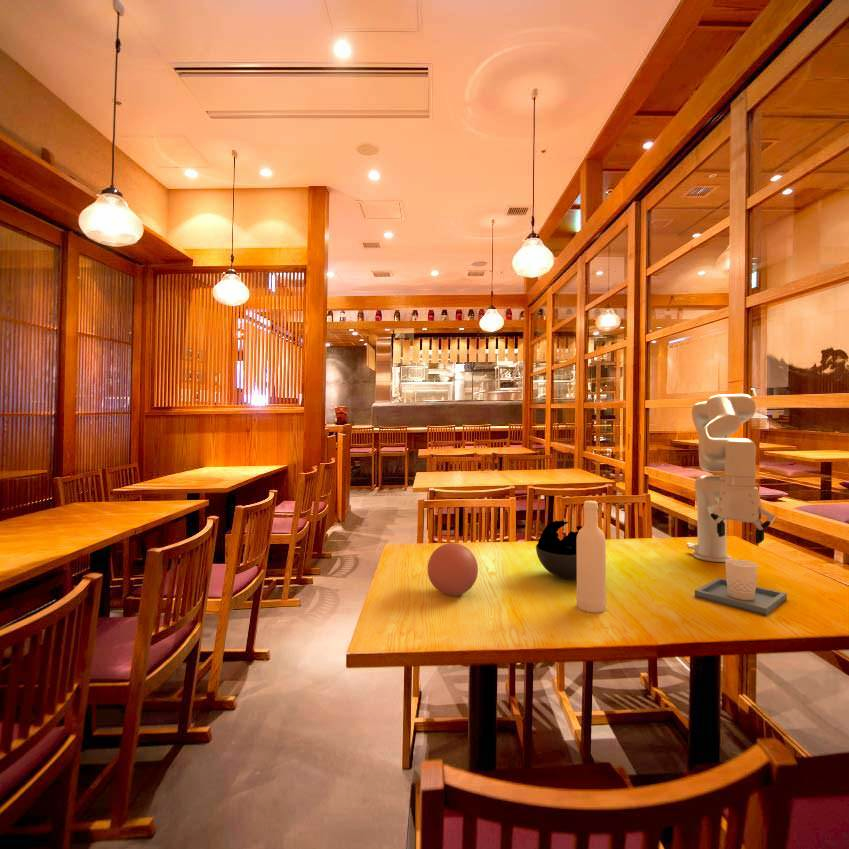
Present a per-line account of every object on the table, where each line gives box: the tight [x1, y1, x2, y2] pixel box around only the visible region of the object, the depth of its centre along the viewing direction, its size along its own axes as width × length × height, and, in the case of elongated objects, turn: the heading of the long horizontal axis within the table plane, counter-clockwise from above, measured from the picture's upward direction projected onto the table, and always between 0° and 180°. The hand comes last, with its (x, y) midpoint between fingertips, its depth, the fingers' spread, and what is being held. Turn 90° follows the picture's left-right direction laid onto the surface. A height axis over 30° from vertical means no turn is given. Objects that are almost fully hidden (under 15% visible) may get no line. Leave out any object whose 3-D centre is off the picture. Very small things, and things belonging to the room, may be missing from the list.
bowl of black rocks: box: [535, 520, 583, 580], centre depth 160 cm, size 20×20×19 cm
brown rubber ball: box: [427, 542, 479, 596], centre depth 148 cm, size 15×20×15 cm
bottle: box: [576, 500, 607, 614], centre depth 134 cm, size 8×8×30 cm
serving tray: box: [694, 577, 788, 617], centre depth 140 cm, size 18×18×2 cm
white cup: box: [724, 558, 758, 600], centre depth 140 cm, size 8×8×10 cm
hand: (739, 539), depth 141 cm, fingers open, 9 cm apart
